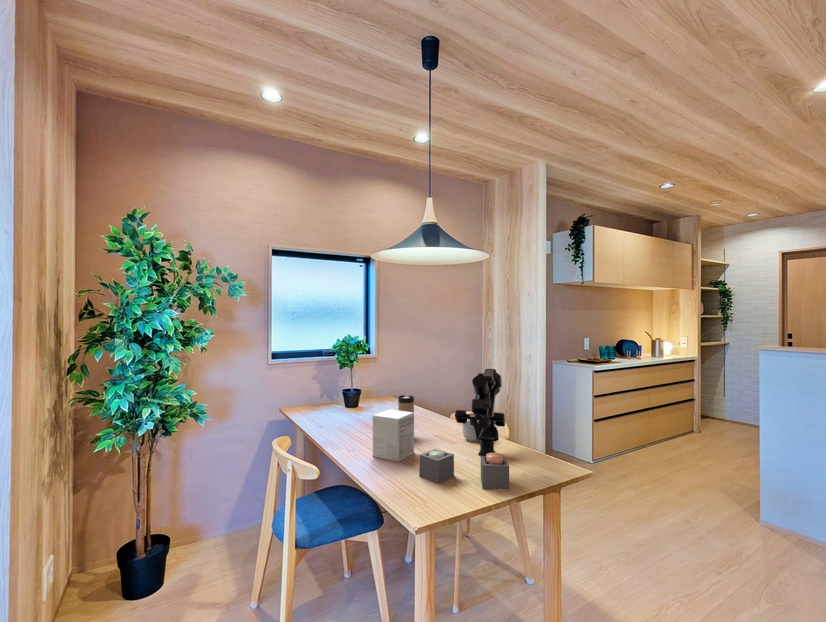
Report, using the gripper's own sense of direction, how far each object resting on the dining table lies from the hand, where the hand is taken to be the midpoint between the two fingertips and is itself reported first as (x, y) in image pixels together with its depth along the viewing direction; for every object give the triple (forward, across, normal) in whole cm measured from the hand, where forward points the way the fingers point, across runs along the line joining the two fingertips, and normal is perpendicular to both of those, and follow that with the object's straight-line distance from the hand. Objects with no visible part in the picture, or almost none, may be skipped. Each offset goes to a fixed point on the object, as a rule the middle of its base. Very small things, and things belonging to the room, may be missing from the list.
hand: (477, 438), depth 151 cm
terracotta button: (+9, +7, 0) cm, 12 cm away
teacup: (-21, -9, +41) cm, 47 cm away
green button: (+10, -14, +1) cm, 17 cm away
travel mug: (-15, -40, +34) cm, 55 cm away
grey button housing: (+14, -14, +5) cm, 20 cm away
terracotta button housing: (+14, +7, +5) cm, 17 cm away
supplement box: (+2, -38, +18) cm, 42 cm away
